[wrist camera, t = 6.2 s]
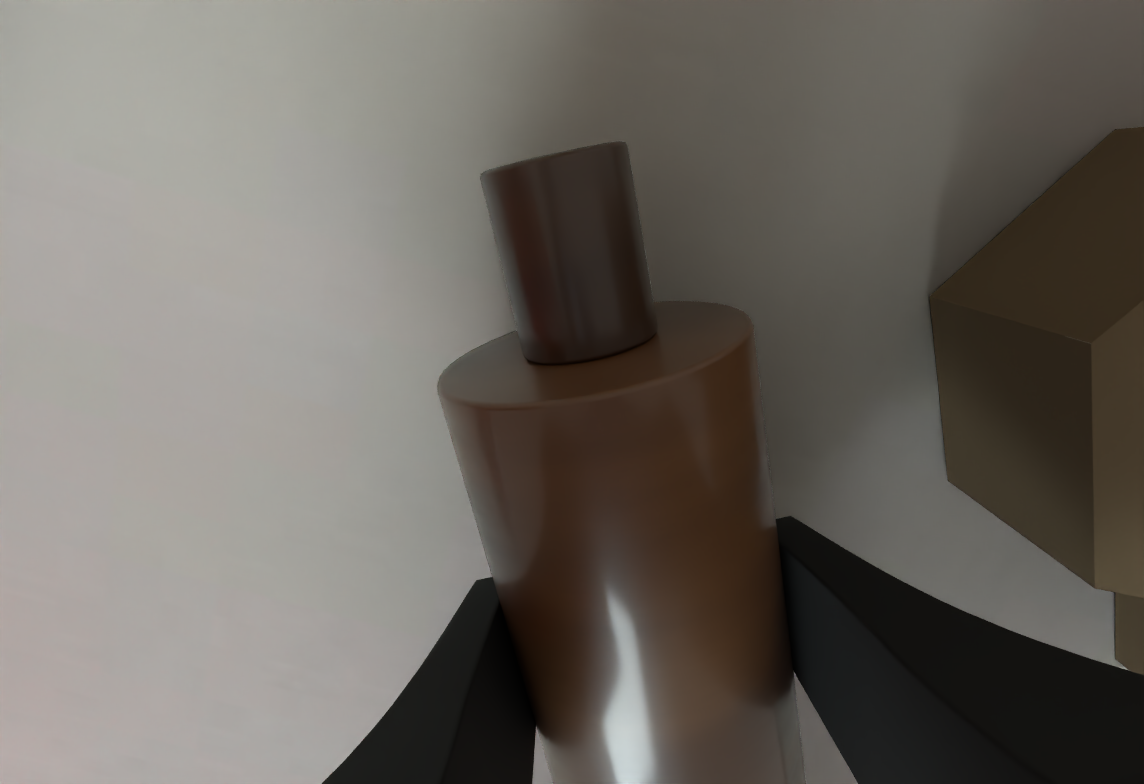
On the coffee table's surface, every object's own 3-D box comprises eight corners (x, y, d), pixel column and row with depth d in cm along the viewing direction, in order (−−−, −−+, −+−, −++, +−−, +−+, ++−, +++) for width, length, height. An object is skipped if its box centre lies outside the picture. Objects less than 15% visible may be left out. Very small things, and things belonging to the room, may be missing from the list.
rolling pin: (775, 787, 15) (867, 1030, 11) (592, 822, 15) (610, 1076, 11) (685, 132, 10) (786, 95, 6) (418, 191, 10) (327, 197, 6)
